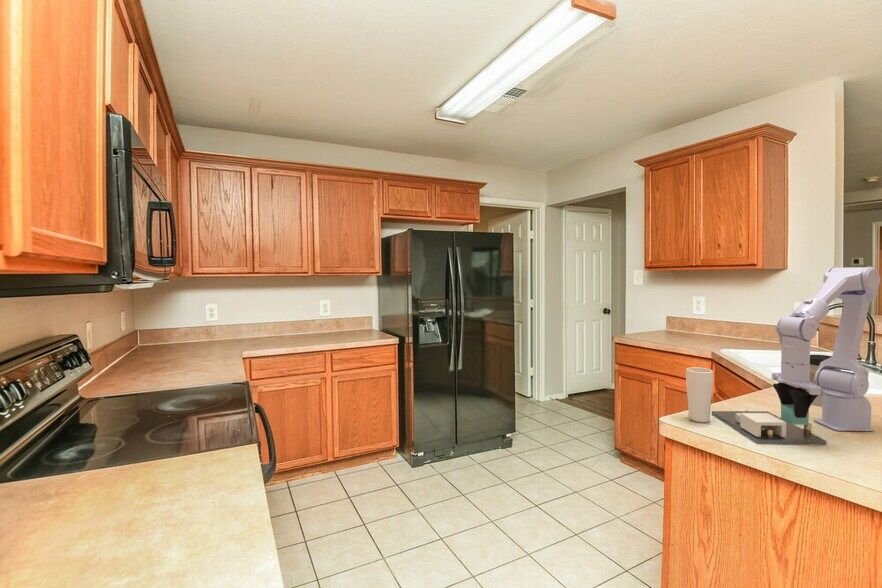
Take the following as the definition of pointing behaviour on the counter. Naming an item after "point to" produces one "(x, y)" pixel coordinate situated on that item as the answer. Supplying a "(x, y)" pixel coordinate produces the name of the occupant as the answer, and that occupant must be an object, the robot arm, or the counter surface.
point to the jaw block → (792, 416)
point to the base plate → (771, 430)
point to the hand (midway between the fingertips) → (794, 414)
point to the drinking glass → (699, 393)
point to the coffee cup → (814, 367)
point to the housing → (760, 423)
